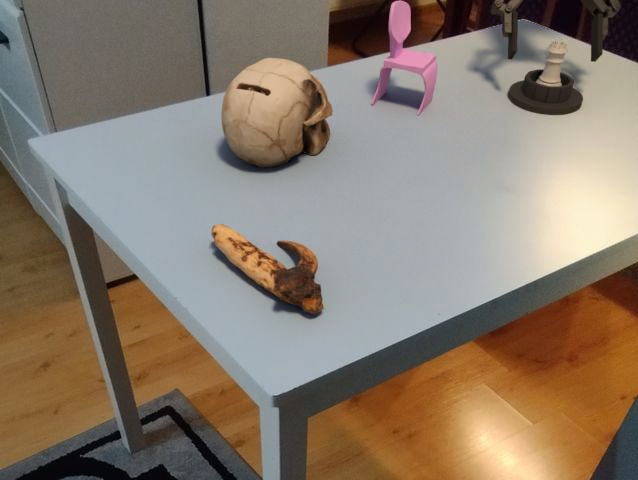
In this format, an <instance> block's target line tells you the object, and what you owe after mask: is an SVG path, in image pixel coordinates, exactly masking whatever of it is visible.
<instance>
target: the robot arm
mask: <svg viewBox="0 0 638 480" xmlns="http://www.w3.org/2000/svg"><path fill="white" fill-rule="evenodd" d="M504 1H505V0H494V3H493V4H492V6H491V8H490V13H491V14H492V15H494V16H495V15H499V19H500V20H501V35H502V37H503V38H507V60H513V59H514V58H515V56H516V55H517V53H518V33H519V32H518V31H519V30H518V28H519V27H518V26H519V25H518V24H519V23H518V22H519V20H518V18H519V11H516V9H518V7H519V6H520V5H521V4H522V2H523V1H524V0H509V1H508V2H507V3H504ZM580 2H581V3H582V5H584V7H585V8H586V9H587V10H588V12H590V14H591V15H592V16H593V17H594V18H592V20H591V23H590V24H591V25H590V62H591V63H592V62H597V60H599V59H600V58H601V56H602V55H603V53H604V52H603V50H604V49H603V47H604V45H603V42H604V40H605V38H606V37H607V36H608V33H609V19H612V18H614V16H615V15H616V14H617V13H618V12H619V11H620V10H621V8H622V5H621V3H620V1H619V0H580Z"/></svg>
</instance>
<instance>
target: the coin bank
mask: <svg viewBox="0 0 638 480" xmlns="http://www.w3.org/2000/svg"><path fill="white" fill-rule="evenodd" d="M333 110H334V109H333V106H332V104H331V102H330V101H329V99H328V94H327V92H326V89H325V88H324V86H323V84H322V82H321V81H320V80H319V78H318V77H317V76H315V75H314V74H312V73H311V72H310V71H309V70H308V69H307V68H306V67H305V66H304V65H302V64H300V63H298V62H296V61H293V60H290V59H286V58H278V57H265V58H263V59H260V60H259V61H257V62H255V63H253V64H251V65H248V66H246V67H245V68H243V70H241V71H240V72H239V73H238V74H237V75H236V76H235V77H234V78H233V79H232V81H231V82H230V83H229V85H228V86H227V88H226V90H225V93H224V96H223V99H222V103H221V116H220V117H221V126H222V132H223V135H224V138H225V140H226V142H227V144H228V147H229V148H230V150H231V151H233V153H234V154H235V155H236V156H237V157H238V158H240V159H241V160H243V161H245V162H246V163H247V164H248V165H253V166H254V165H255V166H257V167H259V168H266V167H275V166H281V165H285V164H286V163H287V162H289V160H290V159H291V158H293V157H295V156H296V155H299V154H301V153H302V152H303V153H305V154H307V155H310V156H315V155H318V154H319V153H320V152H321V151H322V149H324V148H325V147H326V145H327V144H328V141H329V140H330V136H331V129H330V125H329V123H328V121H327V119H328V118H329V117H332V116H333Z"/></svg>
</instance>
